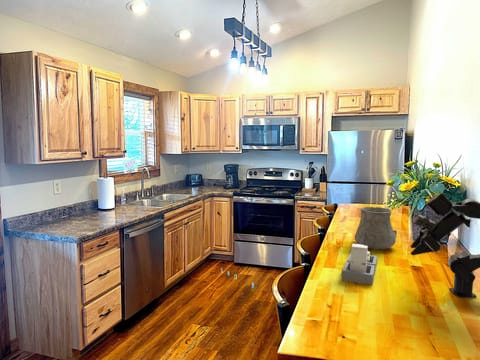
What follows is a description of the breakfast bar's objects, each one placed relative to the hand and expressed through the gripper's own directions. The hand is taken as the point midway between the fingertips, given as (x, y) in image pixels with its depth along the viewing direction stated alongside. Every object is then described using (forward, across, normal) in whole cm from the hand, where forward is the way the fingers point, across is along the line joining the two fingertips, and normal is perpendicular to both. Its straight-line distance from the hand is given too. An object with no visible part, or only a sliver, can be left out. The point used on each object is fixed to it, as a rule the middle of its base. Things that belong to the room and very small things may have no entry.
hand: (411, 250), depth 135 cm
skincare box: (+22, 0, -4) cm, 23 cm away
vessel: (+22, -47, -2) cm, 52 cm away
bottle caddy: (+23, -6, -4) cm, 24 cm away
